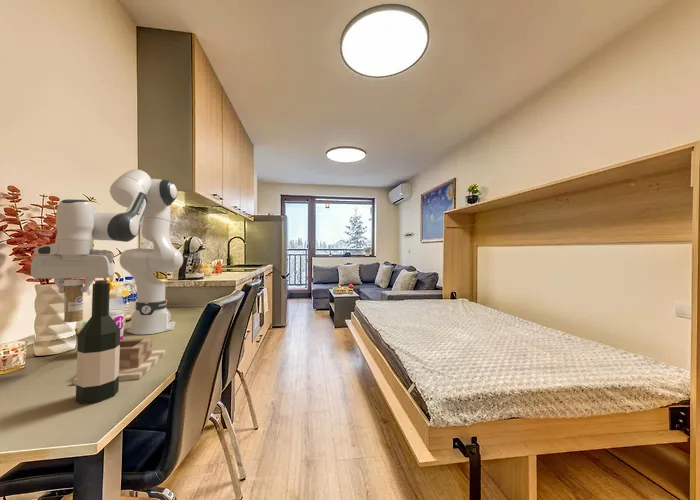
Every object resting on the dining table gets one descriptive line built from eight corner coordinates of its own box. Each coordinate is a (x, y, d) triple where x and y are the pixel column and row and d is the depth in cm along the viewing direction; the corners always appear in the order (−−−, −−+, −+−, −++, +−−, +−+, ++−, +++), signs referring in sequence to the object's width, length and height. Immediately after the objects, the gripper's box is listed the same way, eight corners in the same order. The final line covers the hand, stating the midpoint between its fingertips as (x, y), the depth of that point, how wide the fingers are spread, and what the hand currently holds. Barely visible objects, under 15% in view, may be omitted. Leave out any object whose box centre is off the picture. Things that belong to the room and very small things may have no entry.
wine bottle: (120, 396, 74) (123, 280, 75) (75, 408, 68) (80, 282, 69) (116, 385, 80) (119, 278, 81) (75, 395, 74) (79, 280, 75)
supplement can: (128, 348, 111) (129, 309, 112) (108, 355, 103) (109, 313, 103) (109, 347, 112) (110, 308, 112) (88, 354, 104) (89, 312, 104)
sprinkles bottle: (75, 322, 90) (76, 280, 90) (59, 322, 89) (59, 279, 89) (87, 319, 95) (87, 278, 94) (71, 319, 94) (71, 278, 94)
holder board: (113, 357, 101) (114, 336, 101) (165, 353, 106) (165, 333, 106) (73, 384, 80) (74, 357, 80) (139, 379, 85) (140, 353, 85)
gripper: (118, 249, 98) (117, 290, 98) (42, 248, 92) (42, 291, 92) (108, 250, 92) (107, 293, 92) (27, 248, 86) (26, 294, 86)
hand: (74, 292), depth 92 cm, fingers closed on sprinkles bottle, 4 cm apart
